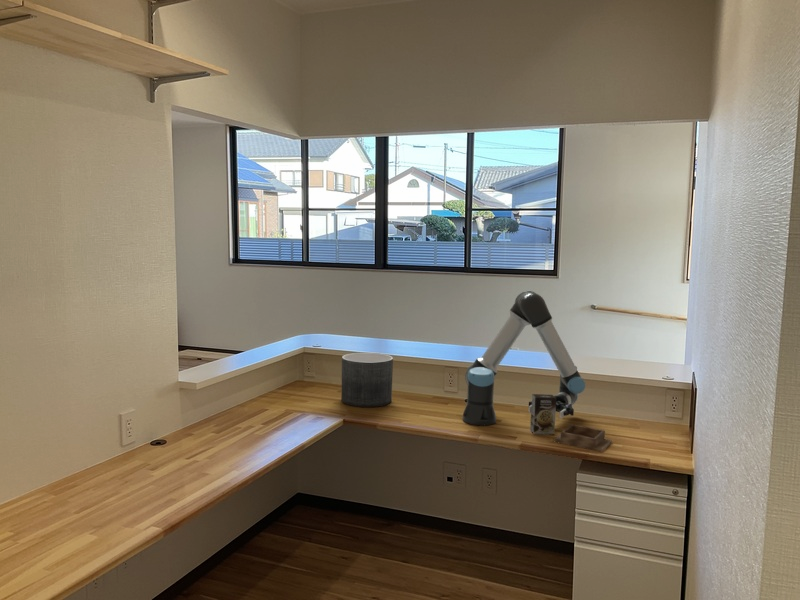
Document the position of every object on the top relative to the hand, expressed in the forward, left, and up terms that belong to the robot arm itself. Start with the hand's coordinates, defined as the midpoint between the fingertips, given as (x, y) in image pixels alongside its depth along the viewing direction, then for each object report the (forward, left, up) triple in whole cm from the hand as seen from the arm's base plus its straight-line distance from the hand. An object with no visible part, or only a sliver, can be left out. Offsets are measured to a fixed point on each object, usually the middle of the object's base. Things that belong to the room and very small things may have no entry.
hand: (544, 412), depth 259 cm
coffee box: (-1, 0, -9) cm, 9 cm away
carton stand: (+17, -2, -9) cm, 20 cm away
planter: (-90, -7, -9) cm, 90 cm away
